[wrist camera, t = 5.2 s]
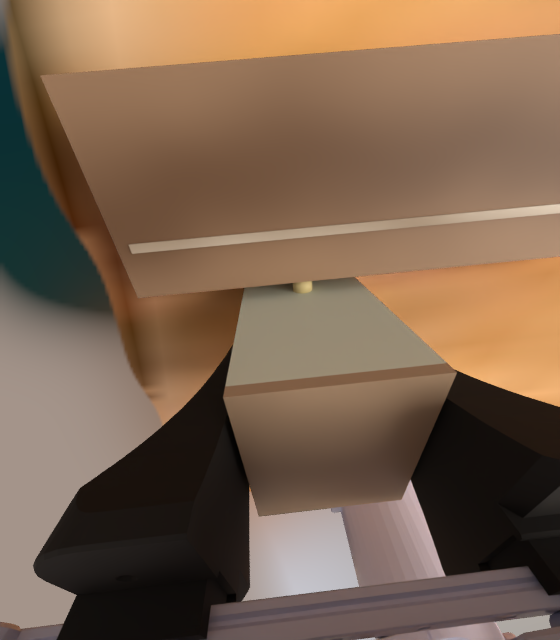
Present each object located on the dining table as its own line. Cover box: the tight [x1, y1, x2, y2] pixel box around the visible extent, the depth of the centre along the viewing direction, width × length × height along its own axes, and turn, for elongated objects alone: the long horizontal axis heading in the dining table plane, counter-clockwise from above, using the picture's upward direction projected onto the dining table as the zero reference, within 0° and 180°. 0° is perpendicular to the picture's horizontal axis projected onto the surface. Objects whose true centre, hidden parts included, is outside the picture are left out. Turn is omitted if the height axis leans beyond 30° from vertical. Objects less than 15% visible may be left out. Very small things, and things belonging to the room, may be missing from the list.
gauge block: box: [223, 277, 457, 516], centre depth 9 cm, size 6×5×7 cm
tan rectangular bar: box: [41, 34, 560, 298], centre depth 8 cm, size 6×20×3 cm, turn 94°
